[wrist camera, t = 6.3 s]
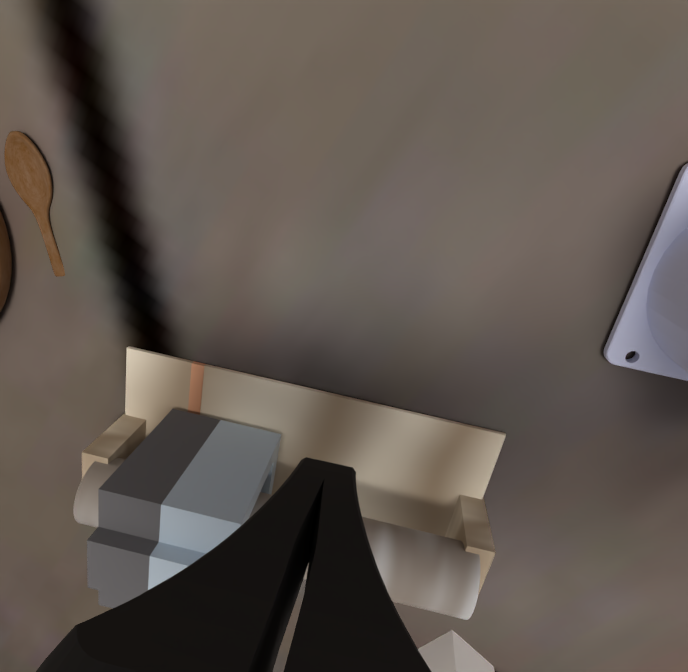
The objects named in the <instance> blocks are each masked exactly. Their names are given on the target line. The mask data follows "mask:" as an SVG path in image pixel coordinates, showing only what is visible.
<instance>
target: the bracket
mask: <svg viewBox="0 0 688 672" xmlns="http://www.w3.org/2000/svg"><path fill="white" fill-rule="evenodd" d="M418 651H419V653H420V654H421V656H422V657H423V659H424V661H425V662H426V664H427V665H428V667H429V668H430V670H431V672H495V670H494V666H493V665H491V664H490V663H489V662H488V661H487V660H486V659H485V658H484V657H482V656H481V655H480V654H479V653H478V652H477V651H476V650H474V649H473V648H472V647H471V646H470V645H469V644H468V643H467V642H465V641H464V640H463V639H462V638H461V637H460V636H459V635H457V634H456V633H455V632H454V631H453V630H451V631H449V632H447V633H445V634H444V635H442V636H440V637H438V638H437V639H435V640H433V641H431V642H429V643H428V644H426V645H424V646H422V647H420V648H419V649H418Z"/></svg>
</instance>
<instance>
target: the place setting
mask: <svg viewBox="0 0 688 672" xmlns="http://www.w3.org/2000/svg"><path fill="white" fill-rule="evenodd" d="M5 166H6V171H7V174H8V177H9V179H10V181H11V183H12V185H13V187H14V188H15V190H16V192H17V193H18V194H19V196H20V197H21V198H22V200H23V201H24V202H25V203H26V204H27V205H28V206H29V208H30V209H31V210H32V212H33V214H34V216H35V218H36V220H37V222H38V225H39V227H40V230H41V233H42V236H43V239H44V242H45V245H46V248H47V251H48V255H49V258H50V261H51V264H52V268H53V271H54V274H55V276H65V272H64V268H63V264H62V260H61V257H60V254H59V251H58V248H57V245H56V242H55V239H54V236H53V232H52V229H51V225H50V220H49V209H50V205H51V201H52V194H53V189H52V180H51V175H50V172H49V169H48V166H47V164H46V162H45V160H44V158H43V156H42V155H41V153H40V152H39V150H38V149H37V147H36V146H35V145H34V143H33V142H32V141H31V140H30V139H29V138H28V137H27V136H26V135H25V134H23V133H21V132H19V131H12V132H10V133H9V134H8V137H7V139H6V144H5ZM11 274H12V257H11V249H10V241H9V237H8V233H7V229H6V225H5V222H4V219H3V216H2V213H1V211H0V312H1V310H2V308H3V306H4V304H5V301H6V298H7V295H8V291H9V288H10V281H11Z"/></svg>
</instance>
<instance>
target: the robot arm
mask: <svg viewBox="0 0 688 672" xmlns="http://www.w3.org/2000/svg"><path fill="white" fill-rule="evenodd" d="M631 351H635V355H634V356H633V357H632V358H630V359H625V357H626V355H627V353H628V352H631ZM603 353H604V357H605V358H606V359H607V360H608V361H609V362H610V363H612V364H614V365H618V366H622V367H627V368H631V369H636V370H640V371H645V372H649V373H654V374H658V375H663V376H667V377H672V378H676V379H681V380H685V381H688V163H687V164H686V165H684V166H683V167H682V169H681V171H680V172H679V175H678V177H677V179H676V182H675V184H674V186H673V189H672V191H671V193H670V196H669V198H668V200H667V203H666V205H665V207H664V210H663V212H662V214H661V217H660V219H659V221H658V224H657V226H656V228H655V231H654V233H653V235H652V238H651V240H650V243H649V245H648V247H647V250H646V252H645V254H644V257H643V259H642V261H641V264H640V266H639V268H638V271H637V273H636V275H635V278H634V280H633V282H632V285H631V287H630V289H629V292H628V294H627V296H626V299H625V301H624V303H623V306H622V308H621V310H620V313H619V315H618V317H617V320H616V322H615V324H614V327H613V329H612V331H611V334H610V336H609V338H608V341H607V343H606V345H605V348H604V352H603ZM308 563H309V565H308ZM307 566H308V572H307V579H306V586H305V593H304V598H303V602H302V605H301V609H300V613H299V617H298V621H297V624H296V628H295V632H294V636H293V640H292V643H291V647H290V651H289V654H288V658H287V662H286V665H285V669H284V672H431V670H430V668H429V667H428V665H427V664H426V662H425V661H424V659H423V657H422V656H421V654H420V653H419V651H418V649H417V647H416V645H415V644H414V642H413V640H412V638H411V636H410V635H409V633H408V631H407V629H406V627H405V626H404V624H403V622H402V620H401V618H400V616H399V614H398V612H397V610H396V608H395V606H394V604H393V602H392V600H391V598H390V596H389V593H388V591H387V589H386V587H385V584H384V582H383V580H382V577H381V575H380V572H379V570H378V567H377V564H376V562H375V559H374V556H373V553H372V550H371V547H370V544H369V541H368V537H367V534H366V530H365V526H364V523H363V519H362V515H361V510H360V506H359V500H358V495H357V487H356V471H355V470H354V468H353V467H349V466H344V465H340V464H335V463H331V462H326V461H321V460H317V459H312V458H308V457H305V458H303V459H302V460H301V461H300V462H299V464H298V465H297V467H296V468H295V469H294V471H293V472H292V473H291V475H290V476H289V477H288V478H287V480H286V481H285V482H284V483H283V484H282V485H281V487H280V488H279V489H278V490H277V491H276V492H275V493H274V494H273V495H272V496H271V497H270V498H269V500H268V501H267V502H266V503H265V504H264V505H263V506H262V507H261V508H260V509H259V510H258V511H257V512H256V513H254V514H253V515H252V516H251V517H250V518H249V519H248V520H247V521H246V522H245V523H244V524H243V525H242V526H240V527H239V528H238V529H237V530H236V531H235V532H233V533H232V534H231V535H230V536H229V537H227V538H226V539H225V540H224V541H222V542H221V543H220V544H218V545H217V546H216V547H215V548H213V549H212V550H211V551H209V552H208V553H206V554H205V555H204V556H202V557H201V558H199V559H198V560H196V561H195V562H194V563H192V564H191V565H189V566H188V567H186V568H185V569H183V570H182V571H180V572H179V573H177V574H175V575H174V576H172V577H170V578H169V579H167V580H165V581H163V582H162V583H160V584H158V585H156V586H155V587H153V588H151V589H149V590H148V591H146V592H144V593H142V594H141V595H139V596H137V597H135V598H133V599H131V600H130V601H128V602H126V603H124V604H122V605H119V606H117V607H115V608H113V609H111V610H109V611H107V612H104V613H102V614H100V615H98V616H96V617H94V618H92V619H89V620H87V621H85V622H82V623H80V624H78V625H76V626H75V627H74V628H73V629H72V630H71V631H70V632H69V633H68V634H67V636H66V637H65V638H64V639H63V640H62V641H61V642H60V643H59V644H58V646H57V647H56V648H55V649H54V650H53V651H52V652H51V654H50V655H49V656H48V657H47V658H46V659H45V661H44V662H43V663H42V664H41V666H40V667H39V668H38V670H37V671H36V672H273V668H274V664H275V661H276V658H277V654H278V651H279V648H280V645H281V642H282V639H283V636H284V633H285V630H286V627H287V625H288V622H289V619H290V616H291V613H292V610H293V607H294V604H295V601H296V598H297V595H298V593H299V590H300V587H301V584H302V581H303V578H304V575H305V572H306V569H307Z"/></svg>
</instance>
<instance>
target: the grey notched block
mask: <svg viewBox="0 0 688 672" xmlns="http://www.w3.org/2000/svg"><path fill="white" fill-rule="evenodd" d="M219 422H220V420H219V419H215V418H210V417H206V416H202V415H198V414H193V413H189V412H185V411H181V410H176V409H172V410H171V411H170V412H169V413H168V414H167V415H166V416H165V417H164V419H163V420H162V421H161V422H160V423H159V424H158V425H157V426H156V427H155V428H154V429H153V430H152V432H151V433H150V434H149V435H148V436H147V437H146V438H145V439H144V440H143V441H142V442H141V443H140V445H139V446H138V447H137V448H136V449H135V450H134V451H133V452H132V453H131V454H130V455H129V456H128V458H127V459H126V460H125V461H124V462H123V463H122V464H121V465H120V466H119V467H118V468H117V469H116V471H115V472H114V473H113V474H112V475H111V476H110V477H109V478H108V479H107V480H106V481H105V482H104V484H103V485H102V486H101V487H100V488H99V489H98V528H97V529H96V530H95V531H94V533H93V534H92V535H91V536H90V537H89V539H88V540H87V570H88V588H92V589H96V590H99V605H102V606H106V607H110V608H115V607H117V606H119V605H122V604H124V603H126V602H128V601H130V600H131V599H133V598H135V597H137V596H139V595H141V594H142V593H144V592H146V591H148V580H149V560H150V555H151V553H152V552H153V550H154V549H155V547H156V546H157V544H158V542H159V531H160V514H161V504H162V503H163V501H164V500H165V498H166V497H167V495H168V494H169V493H170V491H171V490H172V488H173V487H174V486H175V484H176V483H177V481H178V480H179V478H180V477H181V476H182V474H183V473H184V471H185V470H186V468H187V467H188V466H189V464H190V463H191V461H192V460H193V459H194V457H195V456H196V454H197V453H198V451H199V450H200V449H201V447H202V446H203V444H204V443H205V442H206V440H207V439H208V437H209V436H210V434H211V433H212V432H213V430H214V429H215V427H216V426H217V424H218V423H219Z"/></svg>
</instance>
